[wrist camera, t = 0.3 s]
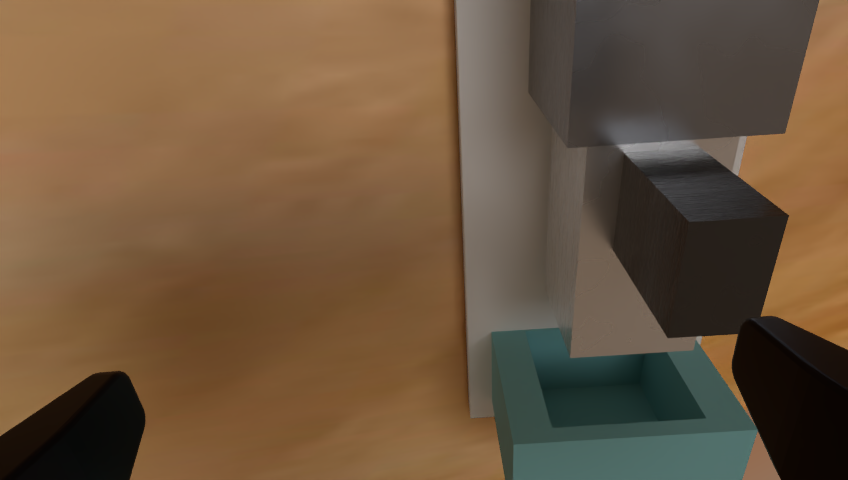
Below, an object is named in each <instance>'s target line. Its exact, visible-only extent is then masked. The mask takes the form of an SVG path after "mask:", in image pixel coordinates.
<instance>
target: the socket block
mask: <svg viewBox="0 0 848 480" xmlns="http://www.w3.org/2000/svg"><path fill="white" fill-rule="evenodd" d="M491 341H492V404H493V410H494V416H495V422H496V428H497V434H498V440H499V445H500V451H501V457H502V463H503V469H504V475H505V480H742V478H743V475H744V472H745V469H746V466H747V463H748V460H749V456H750V453H751V450H752V447H753V444H754V441H755V438H756V434H757V431H758V430H757V428H756V426H755V425H754V423H753V422H752V420H751V419H750V417H749V416H748V415H747V413H746V412H745V410H744V409H743V407H742V406H741V404H740V403H739V401H738V400H737V399H736V397H735V396H734V394H733V393H732V391H731V390H730V388H729V387H728V385H727V384H726V383H725V381H724V380H723V378H722V377H721V375H720V374H719V372H718V371H717V369H716V368H715V367H714V365H713V364H712V362H711V361H710V359H709V358H708V356H707V355H706V354H705V352H704V351H703V349H702V348H701V346H700V345H699V343H698V342H697V340H696V341H695V345H694V350H691V351H675V352H659V353H643V354H627V355H611V356H595V357H580V358H570V356H569V354H568V351H567V348H566V346H565V343H564V340H563V337H562V335H561V332H560V329H559V328H543V329H528V330H512V331H496V332H491Z"/></svg>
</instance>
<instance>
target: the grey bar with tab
mask: <svg viewBox="0 0 848 480" xmlns="http://www.w3.org/2000/svg"><path fill="white" fill-rule="evenodd" d="M739 139H740V136H739V137H725V138H710V139H696V140H681V141H667V142H652V143H637V144H623V145H608V146H594V147H579V148H567V147H566V146H565V144H564V143H563V141H562V140H561V138H560V137H559V136H558V134H557V133H556V131H555V130H554V129H553V127H552V146H551V167H550V188H549V209H548V230H547V251H546V272H545V291H546V294H547V297H548V299H549V302H550V305H551V307H552V310H553V313H554V316H555V318H556V321H557V324H558V327H559V329H560V332H561V335H562V337H563V340H564V343H565V346H566V348H567V351H568V354H569V356H570V358H580V357H595V356H611V355H627V354H643V353H659V352H675V351H691V350H694V345H695V341H696V337H697V336H713V335H728V334H738V333H739V328H740V325H741V323H742V322H743V321H744V320H745V319H747V318H753V317H760V316H761V312H762V309H763V305H764V302H765V298H766V295H767V291H768V288H769V284H770V280H771V277H772V273H773V270H774V266H775V263H776V259H777V256H778V252H779V249H780V245H781V241H782V238H783V234H784V231H785V227H786V224H787V220H788V217H789V215H788V214H786V213H785V212H784V211H782V210H781V209H780V208H778V207H777V206H776V205H774V204H773V203H772V202H771V201H769V200H768V199H767V198H765V197H764V196H763V195H761V194H760V193H759V192H757V191H756V190H755V189H754V188H752V187H751V186H750V185H748V184H747V183H746V182H744V181H743V180H742V179H741V178H739V177H738V176H737V175H735V174H734V173H733V172H732V171H733V166H734V162H735V157H736V152H737V148H738V143H739Z"/></svg>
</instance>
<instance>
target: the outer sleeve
mask: <svg viewBox="0 0 848 480" xmlns="http://www.w3.org/2000/svg"><path fill="white" fill-rule="evenodd" d="M818 3H819V0H531V4H530V44H529V83H528V93H529V94H530V96H531V97H532V99H533V100H534V101H535V103H536V104H537V106H538V107H539V109H540V110H541V111H542V113H543V114H544V116H545V117H546V119H547V120H548V121H549V123H550V124H551V126H552V127H553V129H554V130H555V131H556V133H557V134H558V136H559V137H560V138H561V140H562V141H563V143H564V144H565V146H566V147H567V148H579V147H594V146H608V145H623V144H637V143H652V142H667V141H681V140H696V139H710V138H725V137H739V136H754V135H768V134H783V133H785V131H786V127H787V123H788V119H789V116H790V112H791V108H792V104H793V100H794V96H795V92H796V88H797V84H798V81H799V77H800V73H801V69H802V65H803V61H804V57H805V53H806V50H807V46H808V42H809V38H810V34H811V30H812V26H813V22H814V18H815V15H816V11H817V7H818Z"/></svg>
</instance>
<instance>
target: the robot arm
mask: <svg viewBox="0 0 848 480" xmlns="http://www.w3.org/2000/svg"><path fill="white" fill-rule="evenodd" d="M732 372H733V376H734V379H735V381H736V384H737V386H738V388H739V390H740V392H741V395H742V397H743V399H744V401H745V403H746V406H747V408H748V410H749V412H750V415H751V417H752V419H753V421H754V423H755V426H756V428H757V430H758V432H759V434H760V437H761V439H762V441H763V443H764V445H765V448H766V449H767V452H768V454H769V456H770V459H771V460H772V463H773V465H774V467H775V469H776V471H777V473H778V475H779V477H780V479H781V480H848V350H847V349H845V348H842V347H840V346H838V345H836V344H834V343H832V342H830V341H827V340H825V339H823V338H821V337H819V336H817V335H815V334H813V333H810V332H808V331H806V330H804V329H802V328H800V327H798V326H795V325H793V324H791V323H789V322H787V321H785V320H783V319H781V318H778V317H775V316H765V317H753V318H747V319H745V320H744V321H743V322H742V323H741V325H740V328H739V333H738V337H737V341H736V346H735V350H734V355H733V359H732ZM144 427H145V412H144V409H143V406H142V404H141V402H140V400H139V398H138V395H137V393H136V391H135V389H134V387H133V384H132V382H131V380H130V378H129V376H128V375H127V374H126V373H124V372H121V371H112V372H100V373H95V374H93V375H91V376H89V377H88V378H86V379H85V380H83V381H82V382H80V383H79V384H77V385H76V386H74V387H73V388H71V389H70V390H68V391H67V392H65V393H64V394H62V395H61V396H59V397H58V398H56V399H55V400H53V401H52V402H50V403H49V404H47V405H46V406H45V407H43V408H42V409H40V410H39V411H37V412H36V413H34V414H33V415H31V416H30V417H28V418H27V419H25V420H24V421H22V422H21V423H19V424H18V425H16V426H15V427H13V428H12V429H10V430H9V431H7V432H6V433H4V434H3V435H1V436H0V480H130V476H131V473H132V469H133V466H134V463H135V459H136V456H137V452H138V449H139V445H140V442H141V438H142V435H143V431H144Z"/></svg>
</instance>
